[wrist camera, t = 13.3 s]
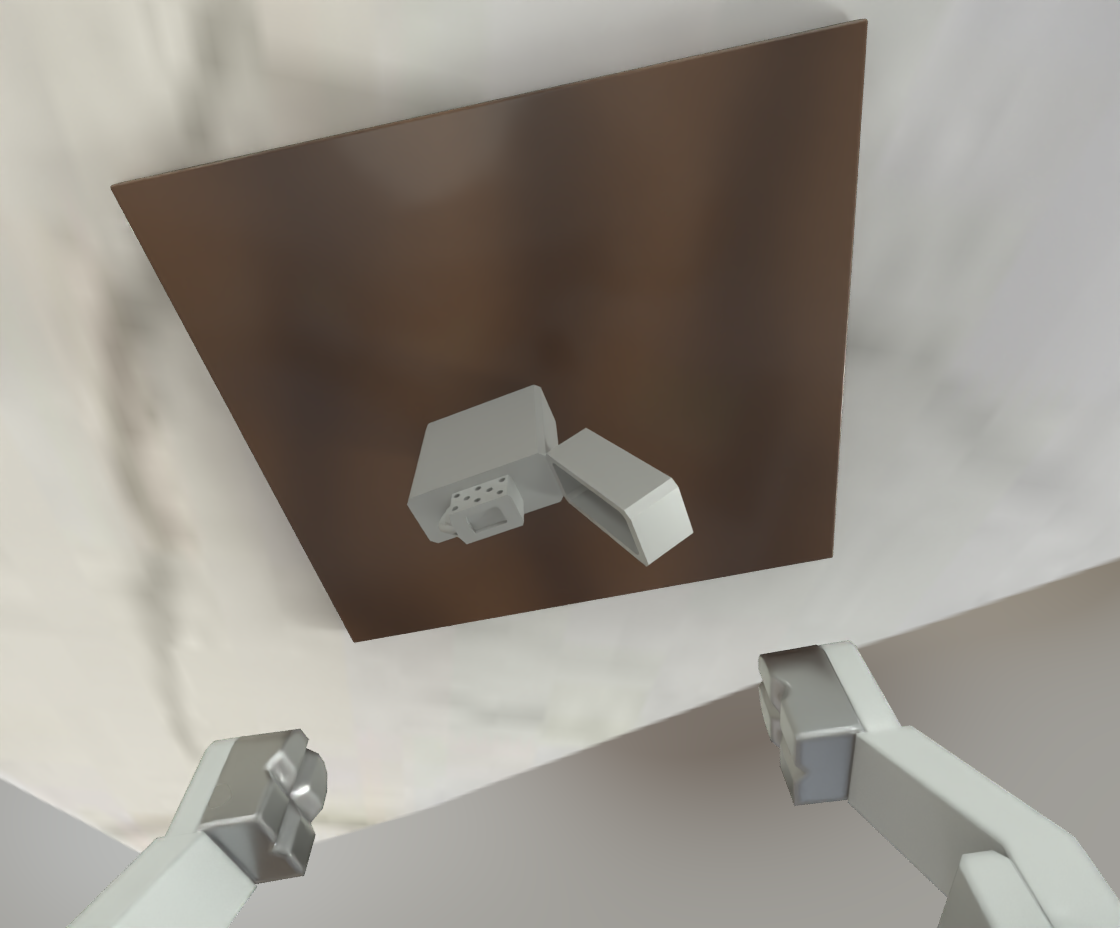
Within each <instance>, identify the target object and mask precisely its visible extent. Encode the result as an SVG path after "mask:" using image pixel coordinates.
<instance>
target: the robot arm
mask: <svg viewBox="0 0 1120 928" xmlns="http://www.w3.org/2000/svg"><path fill="white" fill-rule="evenodd" d="M758 669H759V672H760V674H761V677H762V680H763V681H762V682H761V684H760V685H759V698H760V704H761V709H762V715H763V718H764V721H765V725H766V728H767V731H768V734H769V737H770V740H771V742H773V743H774V744H775V745H776V746H778V747H779V748H780V768H781V770H782V773H783V776H784V778H785V781H786V784H787V787H788V789H789V792H790V795H791V798H792V800H793V803H794V805H795V806H796V805H805V804H813V803H822V802H831V801H840V800H848V803H849V804H850V805H851V806H852V807H853V808H854V809H855V810H856V811H857V812H858V813H859V814H860V815H861V816H863V817H864V818H865V819H866V820H867V821H868V822H869V823H870V824H871V825H872V826H873V827H874V828H875V829H876V830H877V831H878V832H879V833H880V834H881V835H882V836H883V837H885V838H886V839H887V840H888V841H889V842H890V843H891V844H892V845H893V846H894V847H895V848H896V849H897V850H898V851H899V852H900V853H901V854H903V855H904V857H905V858H907V859H908V860H909V861H910V862H911V863H912V864H913V865H914V866H915V867H916V868H917V869H918V870H919V871H920V872H921V873H922V874H923V875H924V876H925V877H926V878H928V879H929V880H930V881H931V882H932V883H933V884H934V885H935V886H936V887H937V888H938V889H939V890H940V891H941V892H942V893H943V894H944V895H945V896H946V897H947V901H946V904H945V907H944V910H943V913H942V915H941V918H940V921H939V924H938V927H937V928H1120V900H1119V899H1118V898H1117V896H1116V895H1115V893H1114V892H1113V890H1112V889H1111V887H1110V886H1109V885H1108V883H1107V882H1106V880H1105V879H1104V878H1103V876H1102V875H1101V873H1100V872H1099V870H1098V869H1097V868H1096V866H1095V865H1094V863H1093V862H1092V861H1091V859H1090V858H1089V856H1088V855H1087V853H1086V852H1085V851H1084V849H1083V848H1082V846H1081V845H1080V843H1079V842H1078V841H1077V839H1076V838H1075V837H1074V836H1073V835H1071V834H1070V833H1068V832H1067V831H1066V830H1064V829H1063V828H1061V827H1060V826H1058V825H1057V824H1055V823H1054V822H1052V821H1051V820H1049V819H1048V818H1046V817H1045V816H1043V815H1042V814H1040V813H1039V812H1038V811H1036V810H1035V809H1033V808H1032V807H1030V806H1029V805H1027V804H1026V803H1024V802H1023V801H1021V800H1020V799H1018V798H1017V797H1015V796H1014V795H1013V794H1011V793H1009V792H1008V791H1007V790H1005V789H1004V788H1002V787H1001V786H999V785H998V784H996V783H995V782H993V781H992V780H990V779H989V778H988V777H986V776H984V775H983V774H982V773H980V772H979V771H977V770H976V769H974V768H973V767H971V766H970V765H968V764H967V763H965V762H964V761H962V760H961V759H959V758H958V757H956V756H955V755H954V754H952V753H951V752H949V751H948V750H946V749H945V748H943V747H942V746H940V745H939V744H938V743H936V742H935V741H933V740H932V739H930V738H929V737H927V736H926V735H924V734H923V733H921V732H920V731H918V730H917V729H915V728H914V727H913V726H902V727H901V725H900V723H899V721H898V720H897V718H896V716H895V714H894V713H893V711H892V709H891V707H890V705H889V704H888V702H887V700H886V698H885V697H884V695H883V693H882V691H881V690H880V688H879V686H878V684H877V683H876V681H875V679H874V677H873V676H872V674H871V672H870V670H869V669H868V667H867V665H866V664H865V661H864V660H863V658H862V656H861V655H860V653H859V651H858V649H857V647H856V646H855V645H854V644H853V643H852V642H851V641H842V642H836V643H830V644H824V645H819V646H818V645H813V646H807V647H801V648H796V649H790V650H784V651H778V652H773V653H767V654H761V655H760V656H759V659H758ZM308 740H309V739H308V738H307V737H306V735H305V734H304V733H303V732H302V730H301V729H295V730H287V731H280V732H273V733H265V734H258V735H251V736H242V737H236V738H229V739H223V740H216V741H214V742H213V743H212V744H211V745H210V746H209V747H208V748H207V749H206V750H205V752H204V754H203V756H202V758H201V760H200V763H199V765H198V767H197V769H196V771H195V773H194V775H193V777H192V780H191V782H190V784H189V786H188V788H187V790H186V792H185V794H184V797H183V799H182V801H181V803H180V805H179V807H178V809H177V811H176V813H175V816H174V818H173V820H172V822H171V824H170V826H169V828H168V830H167V833H166V835H165V836H164V837H159V838H156V839H155V840H154V841H153V842H152V843H151V844H150V845H149V846H148V847H147V848H146V849H145V850H144V851H143V852H142V853H141V854H140V855H139V856H138V857H137V858H136V859H135V860H134V861H133V862H132V863H131V864H130V865H129V866H128V867H127V868H126V869H125V870H124V871H123V872H122V873H121V874H120V875H119V876H118V877H117V878H116V879H115V880H114V881H113V882H112V883H111V884H110V885H109V886H108V887H106V889H104V891H102V893H101V894H99V895H98V896H97V897H96V899H94V900H93V901H92V902H91V903H90V904H89V905H88V906H87V908H86V909H84V910H83V911H82V912H81V913H80V914H79V915H78V916H77V917H76V918H75V919H74V920H73V921H72V922H71V923H70V924H69V925H68V926H67V927H66V928H228V927H229V925H230V924H231V923H232V921H233V920H234V918H235V917H236V916H237V914H238V913H239V912H240V910H241V909H242V907H243V906H244V904H245V903H246V902H247V900H248V899H249V898H250V896H251V895H252V893H253V892H254V890H255V889H256V888H257V885H255V884H259V883H265V882H270V881H276V880H282V879H288V878H293V877H299V876H304V874H305V871H306V867H307V864H308V860H309V856H310V853H311V849H312V846H313V842H314V838H315V832H314V830H313V827H312V825H311V822H312V820H313V819H314V818H315V817H316V816H317V815H318V813H319V812H320V811H321V810H322V809H323V805H324V801H325V797H326V793H327V771H326V767H325V764H324V761H323V760H322V758H321V757H320V755H319V754H318V753H316V752H313V751H311V750H309V749H307V748H306V746H307V743H308Z"/></svg>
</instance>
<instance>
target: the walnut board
mask: <svg viewBox="0 0 1120 928" xmlns="http://www.w3.org/2000/svg"><path fill="white" fill-rule="evenodd" d="M867 24H868V21H867V19H859V20H854V21H849V22H845V23H840V24H836V25H831V26H827V27H822V28H817V29H813V30H808V31H804V32H799V33H795V34H790V35H786V36H781V37H777V38H772V39H768V40H763V41H759V42H754V43H750V44H745V45H741V46H736V47H732V48H727V49H723V50H718V51H713V52H709V53H704V54H700V55H695V56H691V57H686V58H682V59H677V60H673V61H668V62H664V63H659V64H655V65H650V66H646V67H641V68H637V69H632V70H628V71H623V72H619V73H614V74H609V75H605V76H600V77H596V78H591V79H587V80H582V81H578V82H573V83H569V84H564V85H560V86H555V87H551V88H546V89H542V90H537V91H533V92H528V93H524V94H519V95H515V96H510V97H505V98H501V99H496V100H492V101H487V102H483V103H478V104H474V105H469V106H465V107H460V108H456V109H451V110H447V111H442V112H438V113H433V114H429V115H424V116H420V117H415V118H411V119H406V120H401V121H397V122H392V123H388V124H383V125H379V126H374V127H370V128H365V129H361V130H356V131H352V132H347V133H343V134H338V135H334V136H329V137H325V138H320V139H316V140H311V141H306V142H302V143H297V144H293V145H288V146H284V147H279V148H275V149H270V150H266V151H261V152H257V153H252V154H248V155H243V156H239V157H234V158H230V159H225V160H221V161H216V162H212V163H207V164H202V165H198V166H193V167H189V168H184V169H180V170H175V171H171V172H166V173H162V174H157V175H153V176H148V177H144V178H139V179H135V180H130V181H126V182H121V183H118V184H114V185H112V186H111V190H112V192H113V194H114V196H115V198H116V199H117V201H118V203H119V205H120V207H121V209H122V211H123V213H124V214H125V216H126V218H127V220H128V222H129V224H130V226H131V228H132V229H133V231H134V233H135V235H136V237H137V239H138V241H139V242H140V244H141V246H142V248H143V250H144V252H145V254H146V256H147V257H148V259H149V261H150V263H151V265H152V267H153V269H154V270H155V272H156V274H157V276H158V278H159V280H160V282H161V284H162V285H163V287H164V289H165V291H166V293H167V295H168V297H169V298H170V300H171V302H172V304H173V306H174V308H175V310H176V312H177V313H178V315H179V317H180V319H181V321H182V323H183V325H184V326H185V328H186V330H187V332H188V334H189V336H190V338H191V340H192V341H193V343H194V345H195V347H196V349H197V351H198V353H199V354H200V356H201V358H202V360H203V362H204V364H205V366H206V368H207V369H208V371H209V373H210V375H211V377H212V379H213V381H214V382H215V384H216V386H217V388H218V390H219V392H220V394H221V396H222V397H223V399H224V401H225V403H226V405H227V407H228V409H229V410H230V412H231V414H232V416H233V418H234V420H235V422H236V424H237V425H238V427H239V429H240V431H241V433H242V435H243V437H244V439H245V440H246V442H247V444H248V446H249V448H250V450H251V452H252V453H253V455H254V457H255V459H256V461H257V463H258V465H259V467H260V468H261V470H262V472H263V474H264V476H265V478H266V480H267V481H268V483H269V485H270V487H271V489H272V491H273V493H274V495H275V496H276V498H277V500H278V502H279V504H280V506H281V508H282V509H283V511H284V513H285V515H286V517H287V519H288V521H289V523H290V524H291V526H292V528H293V530H294V532H295V534H296V536H297V537H298V539H299V541H300V543H301V545H302V547H303V549H304V551H305V552H306V554H307V556H308V558H309V560H310V562H311V564H312V565H313V567H314V569H315V571H316V573H317V575H318V577H319V579H320V580H321V582H322V584H323V586H324V588H325V590H326V592H327V593H328V595H329V597H330V599H331V601H332V603H333V605H334V607H335V608H336V610H337V612H338V614H339V616H340V618H341V620H342V621H343V623H344V625H345V627H346V629H347V631H348V633H349V635H350V636H351V638H352V640H353V642H361V641H367V640H372V639H378V638H384V637H389V636H395V635H400V634H406V633H412V632H417V631H423V630H428V629H434V628H440V627H445V626H451V625H456V624H462V623H468V622H473V621H479V620H484V619H490V618H496V617H501V616H507V615H512V614H518V613H524V612H529V611H535V610H540V609H546V608H552V607H557V606H563V605H568V604H574V603H580V602H585V601H591V600H596V599H602V598H608V597H613V596H619V595H625V594H630V593H636V592H641V591H647V590H653V589H658V588H664V587H669V586H675V585H681V584H686V583H692V582H697V581H703V580H709V579H714V578H720V577H725V576H731V575H737V574H742V573H748V572H753V571H759V570H765V569H770V568H776V567H781V566H787V565H793V564H798V563H804V562H809V561H815V560H821V559H826V558H832V557H833V546H834V530H835V515H836V500H837V484H838V469H839V454H840V438H841V423H842V408H843V392H844V377H845V362H846V346H847V331H848V316H849V300H850V285H851V269H852V254H853V239H854V223H855V208H856V193H857V177H858V162H859V147H860V131H861V116H862V101H863V85H864V70H865V55H866V39H867ZM531 385H536V386H539V387H541V389H542V391H543V394H544V396H545V398H546V401H547V403H548V405H549V407H550V410H551V412H552V414H553V417H554V419H555V421H556V428H557V437H558V445H560V444H561V443H563V442H564V441H566V440H568V439H569V438H571V437H572V436H574V435H575V434H577V433H579V432H580V431H582V430H583V429H585V428H587V429H589V430H591V431H593V432H594V433H596V434H598V435H599V436H601V437H603V438H604V439H606V440H608V441H610V442H611V443H613V444H615V445H616V446H618V447H620V448H622V449H623V450H625V451H627V452H628V453H630V454H632V455H633V456H635V457H637V458H639V459H640V460H642V461H644V462H645V463H647V464H649V465H651V466H652V467H654V468H656V469H657V470H659V471H661V472H662V473H664V474H666V475H668V476H669V477H671V478H672V479H673V480H674V482H675V483H676V484H677V486H678V487H679V490H680V493H681V496H682V499H683V502H684V505H685V508H686V512H687V515H688V518H689V521H690V524H691V527H692V530H693V533H692V534H691V535H689V536H688V537H687V538H685V539H684V540H683V541H681V542H680V543H678V544H677V545H676V546H674V547H673V548H671V549H670V550H669V551H667V552H666V553H665V554H663V555H662V556H660V557H659V558H658V559H656V560H655V561H653V562H652V563H651V564H649V565H648V566H647V567H646V566H645V565H644V564H643V563H642V562H640V561H639V560H638V559H637V558H635V557H634V556H633V555H632V554H631V553H629V552H628V551H627V550H626V549H624V548H623V547H622V546H621V545H620V544H618V543H617V542H616V541H615V540H614V539H612V538H611V537H610V536H609V535H607V534H606V533H605V532H604V531H603V530H601V529H600V528H599V527H598V526H597V525H595V524H594V523H593V522H592V521H590V520H589V519H588V518H587V517H586V516H584V515H583V514H582V513H581V512H580V511H578V510H577V509H576V508H575V507H573V506H572V505H571V504H570V503H569V502H568V501H567V500H566V498H565V497H564V496H563V498H562V500H561V501H560V502H558V503H555V504H552V505H549V506H546V507H543V508H540V509H537V510H534V511H531V512H528V513H525V514H524V523H523V525H522V526H519V527H517V528H514V529H511V530H508V531H505V532H502V533H499V534H496V535H493V536H490V537H487V538H484V539H481V540H478V541H475V542H472V543H469V544H466V543H465V542H464V541H463V540H461V539H460V538H458V537H455V538H452V539H449V540H446V541H443V542H440V543H436V542H433V541H430V540H429V538H428V537H427V535H426V534H425V532H424V530H423V529H422V527H421V526H420V524H419V523H418V521H417V520H416V518H415V516H414V515H413V513H412V512H411V510H410V509H409V507H408V505H407V503H408V499H409V495H410V491H411V487H412V483H413V479H414V475H415V471H416V467H417V463H418V459H419V455H420V451H421V447H422V443H423V439H424V435H425V431H426V428H427V425H428V424H429V423H431V422H434V421H437V420H439V419H442V418H445V417H448V416H450V415H453V414H456V413H458V412H461V411H464V410H466V409H469V408H472V407H475V406H477V405H480V404H483V403H485V402H488V401H491V400H493V399H496V398H499V397H502V396H504V395H507V394H510V393H512V392H515V391H518V390H520V389H523V388H526V387H529V386H531Z"/></svg>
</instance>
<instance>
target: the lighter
mask: <svg viewBox="0 0 1120 928" xmlns="http://www.w3.org/2000/svg"><path fill="white" fill-rule="evenodd" d="M563 496H564V497H565V498H566V500H567V501H568V502H569V503H570V504H571V505H572V506H573V507H575V508H576V509H577V510H578V511H580V512H581V513H582V514H583V515H584V516H586V517H587V518H588V519H589V520H590V521H592V522H593V523H594V524H595V525H597V526H598V527H599V528H600V529H601V530H603V531H604V532H605V533H606V534H607V535H609V536H610V537H611V538H612V539H614V540H615V541H616V542H617V543H618V544H620V545H621V546H622V547H623V548H624V549H626V550H627V551H628V552H629V553H631V554H632V555H633V556H634V557H635V558H637V559H638V560H639V561H640V562H642V563H643V564H644V565H645V566H646V567H647V566H648V565H649V564H651V563H652V562H653V561H655V560H656V559H658V558H659V557H660V556H662V555H663V554H665V553H666V552H667V551H669V550H670V549H671V548H673V547H674V546H676V545H677V544H678V543H680V542H681V541H683V540H684V539H685V538H687V537H688V536H689V535H691V534H692V533H693V530H692V527H691V524H690V521H689V518H688V515H687V512H686V508H685V505H684V502H683V499H682V496H681V493H680V490H679V487H678V486H677V484H676V483H675V482H674V480H673V479H672V478H671V477H669V476H668V475H666V474H664V473H662V472H661V471H659V470H657V469H656V468H654V467H652V466H651V465H649V464H647V463H645V462H644V461H642V460H640V459H639V458H637V457H635V456H633V455H632V454H630V453H628V452H627V451H625V450H623V449H622V448H620V447H618V446H616V445H615V444H613V443H611V442H610V441H608V440H606V439H604V438H603V437H601V436H599V435H598V434H596V433H594V432H593V431H591V430H589V429H587V428H585V429H583V430H582V431H580V432H579V433H577V434H575V435H574V436H572V437H571V438H569V439H568V440H566V441H564V442H563V443H561V444H560V445H558V437H557V428H556V421H555V419H554V417H553V414H552V412H551V410H550V407H549V405H548V403H547V401H546V398H545V396H544V394H543V391H542V389H541V387H539V386H536V385H531V386H529V387H526V388H523V389H520V390H518V391H515V392H512V393H510V394H507V395H504V396H502V397H499V398H496V399H493V400H491V401H488V402H485V403H483V404H480V405H477V406H475V407H472V408H469V409H466V410H464V411H461V412H458V413H456V414H453V415H450V416H448V417H445V418H442V419H439V420H437V421H434V422H431V423H429V424H428V425H427V428H426V431H425V435H424V439H423V443H422V447H421V451H420V455H419V459H418V463H417V467H416V471H415V475H414V479H413V483H412V487H411V491H410V495H409V499H408V503H407V505H408V507H409V509H410V510H411V512H412V513H413V515H414V516H415V518H416V520H417V521H418V523H419V524H420V526H421V527H422V529H423V530H424V532H425V534H426V535H427V537H428V538H429V540H430V541H433V542H436V543H440V542H443V541H446V540H449V539H452V538H455V537H458V538H460V539H461V540H463V541H464V542H465V543H466V544H469V543H472V542H475V541H478V540H481V539H484V538H487V537H490V536H493V535H496V534H499V533H502V532H505V531H508V530H511V529H514V528H517V527H519V526H522V525H523V523H524V514H525V513H528V512H531V511H534V510H537V509H540V508H543V507H546V506H549V505H552V504H555V503H558V502H560V501H561V500H562V498H563Z"/></svg>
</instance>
